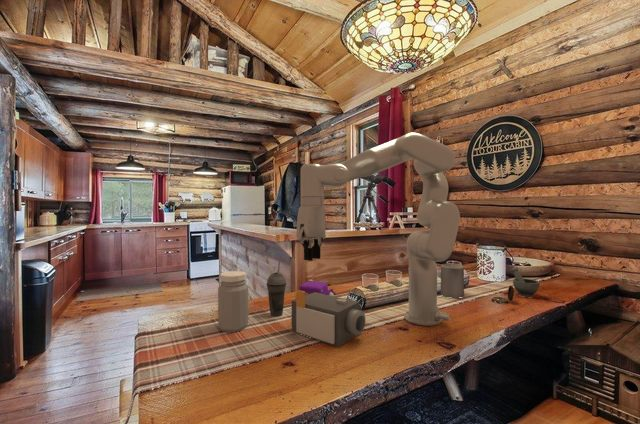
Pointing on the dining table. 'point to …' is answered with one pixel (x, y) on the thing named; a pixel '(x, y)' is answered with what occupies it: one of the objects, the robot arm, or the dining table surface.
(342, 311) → the camera body
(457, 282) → the grey canister
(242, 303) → the jar
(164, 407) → the dining table surface
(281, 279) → the beverage cup
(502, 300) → the compass
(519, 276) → the mortar and pestle
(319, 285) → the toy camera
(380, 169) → the robot arm
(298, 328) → the door
